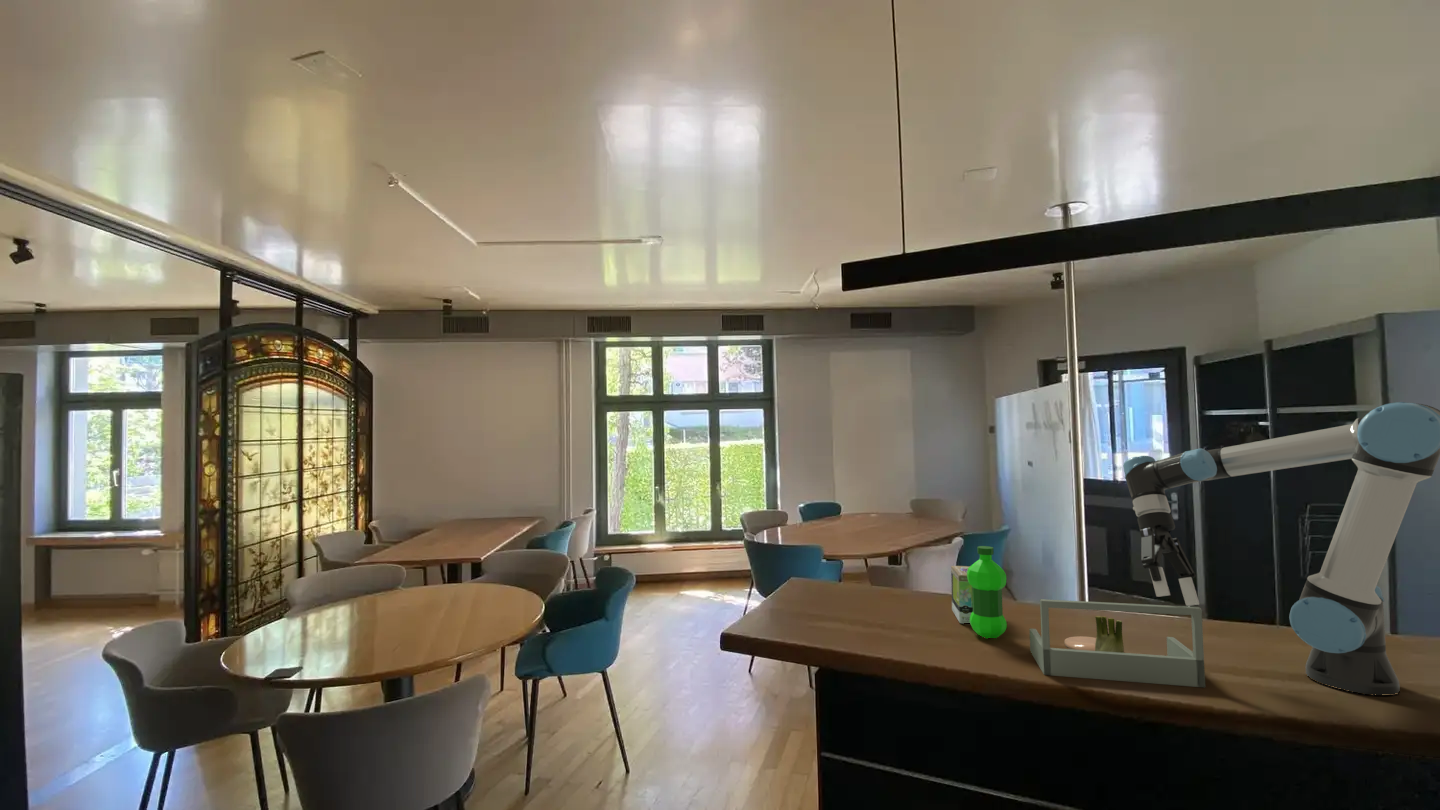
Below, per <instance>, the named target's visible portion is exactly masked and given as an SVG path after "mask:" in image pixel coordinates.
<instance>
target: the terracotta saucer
mask: <svg viewBox="0 0 1440 810" xmlns="http://www.w3.org/2000/svg"><path fill="white" fill-rule="evenodd" d="M1095 643H1096V637H1094V636H1093V637H1092V636H1080V635H1079V636H1070V637H1067V638H1065V639H1064V646H1065V647H1066V648H1067V649H1074V650H1089V651H1095Z"/></svg>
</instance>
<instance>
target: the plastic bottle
mask: <svg viewBox="0 0 1440 810" xmlns="http://www.w3.org/2000/svg"><path fill="white" fill-rule="evenodd" d="M994 553H995V552H994V547H993V546H987V545H979V546H977V554H978V555H979V558H978V560H976V561H975V562H973V564H971V565H970V567H969V568H968V571H967V579H968V582H969V584H970V585H971V586H972V599H973V612H972V613H971V616H970V624H969V625H970V626H971V628H972V630H973V632H975V633H976V634H977V635H978V636H979V635H980V636H982V637H981V638H983V637H985V638H984V639H988V638H996V639H998V638H999V637H1000V636H1002V635H1003V634H1004V633H1005V632H1006V630H1007V628H1008V623H1007V622H1008V621H1007V620H1006V618H1005V616H1004V612H1003V608H1004V607H1003V588H1005V586H1006V585H1007V575H1006V572H1005V571H1004V569H1003V568H1002V567H1001V566H1000V565H999V564H997V562H995V561H994V560H993V559H992V558H993V555H994ZM980 636H979V637H980ZM997 637H998V638H997Z"/></svg>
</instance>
